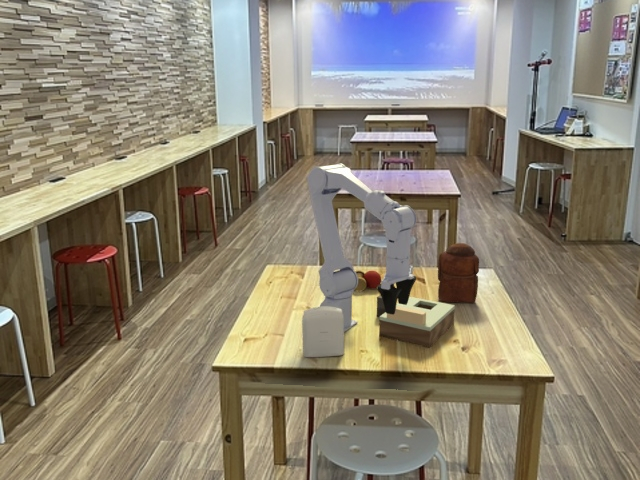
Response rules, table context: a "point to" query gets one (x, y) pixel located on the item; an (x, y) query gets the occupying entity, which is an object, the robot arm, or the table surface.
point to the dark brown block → (380, 306)
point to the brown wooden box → (416, 331)
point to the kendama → (367, 280)
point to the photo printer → (323, 332)
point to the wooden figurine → (458, 274)
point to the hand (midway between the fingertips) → (396, 308)
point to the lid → (419, 314)
